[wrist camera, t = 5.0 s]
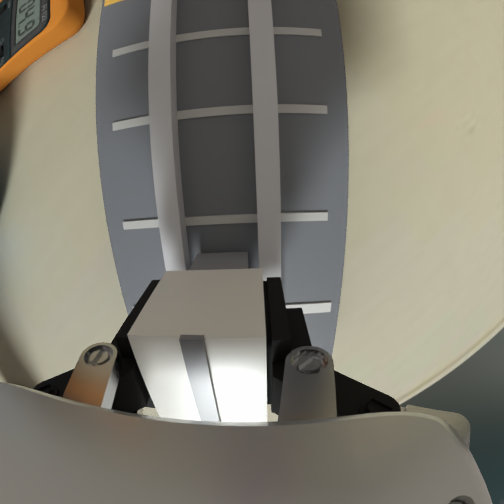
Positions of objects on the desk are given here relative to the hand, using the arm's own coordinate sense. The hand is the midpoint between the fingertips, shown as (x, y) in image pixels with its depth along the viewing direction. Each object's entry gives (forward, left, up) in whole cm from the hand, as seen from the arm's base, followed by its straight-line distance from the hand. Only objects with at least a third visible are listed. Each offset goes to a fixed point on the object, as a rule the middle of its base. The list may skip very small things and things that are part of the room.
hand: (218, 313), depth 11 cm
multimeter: (+18, +18, -6) cm, 26 cm away
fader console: (+8, 0, -6) cm, 10 cm away
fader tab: (0, 0, -3) cm, 3 cm away
